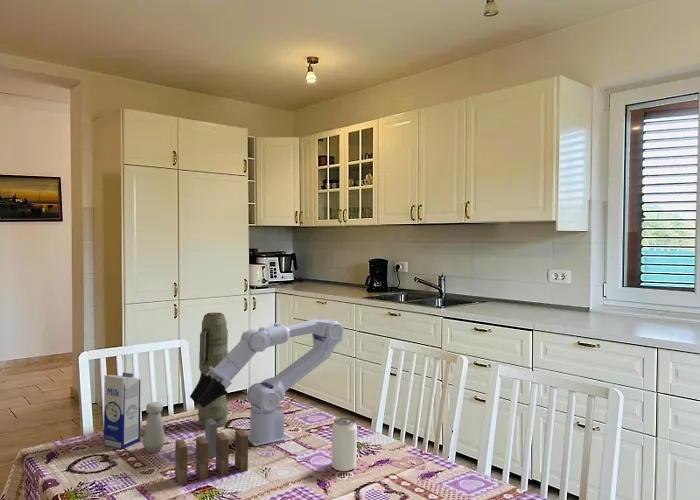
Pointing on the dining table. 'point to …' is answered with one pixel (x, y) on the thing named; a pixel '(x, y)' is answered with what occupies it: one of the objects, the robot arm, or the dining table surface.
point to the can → (344, 444)
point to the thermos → (213, 363)
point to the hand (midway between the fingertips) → (196, 402)
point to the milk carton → (122, 410)
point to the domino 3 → (211, 436)
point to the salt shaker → (154, 428)
